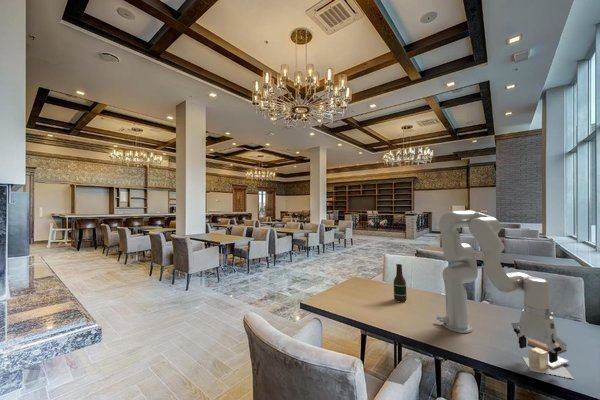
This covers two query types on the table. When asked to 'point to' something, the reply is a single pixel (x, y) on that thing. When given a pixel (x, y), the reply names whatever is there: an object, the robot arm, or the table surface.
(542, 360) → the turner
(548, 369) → the mat
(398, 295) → the beer bottle
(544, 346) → the tile
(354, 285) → the table surface
